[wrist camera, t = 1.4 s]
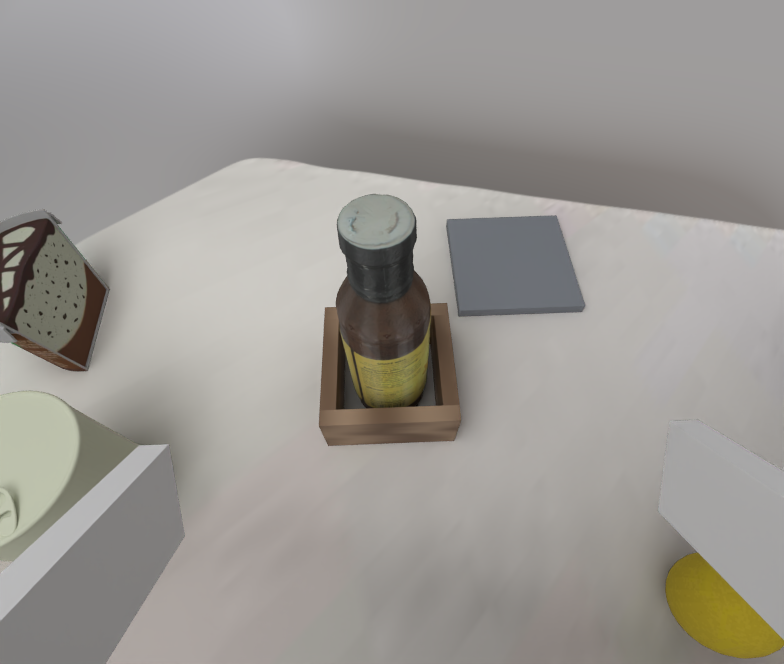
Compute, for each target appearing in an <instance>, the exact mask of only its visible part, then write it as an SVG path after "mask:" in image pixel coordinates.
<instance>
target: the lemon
mask: <svg viewBox="0 0 784 664" xmlns="http://www.w3.org/2000/svg"><path fill="white" fill-rule="evenodd" d="M665 591H666V597H667V602H668V604H669V607H670V609H671V612H672V614H673V615H674V617H675V619H676V620H677V622H678V623H679V624H680V626H681V627H682V628H683V629H684V630H685V631H686V632H687V633H688V634H689V635H690V636H691V637H692V638H694V639H695V640H696V641H698V642H699V643H700V644H702V645H704V646H705V647H707V648H710V649H712V650H714V651H716V652H718V653H720V654H723V655H728V656H732V657H737V658H756V657H764V656H767V655H769V654H771V653H773V652H776V651H778V650H780V649H781V648H782V647H783V646H784V640H783V639H782V638H781V637H780V636H779V635H778V633H777V632H776V631H775V630H774V629H773V628H772V627H771V626H770V625H769V624H768V623H767V622H766V621H765V620H764V619H763V618H762V617H761V616H760V615H759V614H758V613H757V612H756V611H755V610H754V609H753V608H752V607H751V606H750V605H749V604H748V603H747V602H746V601H745V600H744V599H743V598H742V597H741V596H740V595H739V594H738V593H737V592H736V591H735V590H734V589H733V588H732V587H731V586H730V585H729V584H728V582H727V581H726V580H725V579H724V578H723V577H722V576H721V575H720V574H719V573H718V572H717V571H716V570H715V569H714V568H713V567H712V566H711V565H710V564H709V563H708V562H707V561H706V560H705V559H704V558H703V557H702V556H701V555H700V554H699V553H698V552H697V553H693V554H689V555H687V556H685V557H683V558H682V559H680V560H679V561H677V562H676V563H675V564H674V565H673V567H672V568H671V569H670V571H669V573H668V576H667V579H666V590H665Z"/></svg>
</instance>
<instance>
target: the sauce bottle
mask: <svg viewBox="0 0 784 664" xmlns="http://www.w3.org/2000/svg"><path fill="white" fill-rule="evenodd" d="M337 230H338V238H339V245H340V249H341V250H342V253H343V254H345V256H346V262H347V267H348V268H347V277H346V278H345V280H344V281H343V283H342V285H341V287H340V289H339V291H338V294H337V298H336V309H337V315H338V319H339V327H340V333H341V337H342V341H343V345H344V349H345V353H346V357H347V361H348V364H349V368H350V372H351V376H352V380H353V384H354V388H355V390H356V392H357V394H358V396H359V398H360V400H361V402H362V403H363V405H364V406H365V407H366V409H368V408H394V407H415V406H416V405H417V403H418V402H419V400H420V399H421V397H422V394H423V390H424V387H425V384H426V379H427V367H428V355H429V336H430V326H431V304H430V299H429V294H428V291H427V288H426V286H425V284H424V282H423V280H422V279H421V277H420V276H419V275H418V274H417V273H416V272H415V271H414V266H413V248H414V245H415V242H416V239H417V234H416V231H417V230H416V217H415V215H414V213H413V211H412V209H411V208H410V207H409V206H408V204H407V203H406V202H404V201H403V200H401V199H399V198H397V197H394V196H391V195H378V194H370V195H366V196H362V197H359V198H357V199H355V200H353V201H351V202H350V203H349V204H347V205H346V206H345V207H344V208H343V209H342V211H341V212H340V214H339V217H338V220H337Z"/></svg>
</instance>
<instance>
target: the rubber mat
mask: <svg viewBox="0 0 784 664" xmlns="http://www.w3.org/2000/svg"><path fill="white" fill-rule="evenodd" d="M446 227H447V235H448V242H449V249H450V257H451V264H452V271H453V279H454V286H455V293H456V300H457V308H458V315H459V316H481V315H508V314H535V313H562V312H582V310H583V309H584V307H585V304H584V301H583V297H582V294H581V291H580V288H579V285H578V282H577V279H576V276H575V272H574V269H573V266H572V263H571V260H570V257H569V254H568V250H567V247H566V244H565V241H564V238H563V235H562V232H561V229H560V225H559V222H558V219H557V216H528V217H500V218H472V219H447V225H446Z"/></svg>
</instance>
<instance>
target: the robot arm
mask: <svg viewBox="0 0 784 664" xmlns="http://www.w3.org/2000/svg"><path fill="white" fill-rule="evenodd" d="M658 512H659V513H660V514H661V515H662V516H663V517H664V518H665V519H666V520H667V521H668V522H669V523H670V524H671V525H672V526H673V527H674V528H675V529H676V530H677V532H678V533H679V534H680V535H681V536H682V537H683V538H684V539H685V540H686V541H687V542H688V543H689V544H690V545H691V546H692V547H693V548H694V549H695V550H696V551H697V552H698V553H699V554H700V555H701V556H702V557H703V558H704V559H705V560H706V561H707V562H708V563H709V564H710V565H711V566H712V567H713V568H714V569H715V570H716V571H717V572H718V573H719V574H720V575H721V576H722V577H723V578H724V579H725V580H726V581H727V582H728V584H729V585H730V586H731V587H732V588H733V589H734V590H735V591H736V592H737V593H738V594H739V595H740V596H741V597H742V598H743V599H744V600H745V601H746V602H747V603H748V604H749V605H750V606H751V607H752V608H753V609H754V610H755V611H756V612H757V613H758V614H759V615H760V616H761V617H762V618H763V619H764V620H765V621H766V622H767V623H768V624H769V625H770V626H771V627H772V628H773V629H774V630H775V631H776V632H777V633H778V635H779V636H780V637H781V638H782V639H783V640H784V471H782V470H780V469H779V468H777V467H776V466H774V465H772V464H771V463H769V462H767V461H766V460H764V459H762V458H761V457H759V456H757V455H756V454H754V453H752V452H751V451H749V450H747V449H746V448H744V447H742V446H741V445H739V444H738V443H736V442H734V441H733V440H731V439H729V438H728V437H726V436H724V435H723V434H721V433H719V432H718V431H716V430H714V429H713V428H711V427H709V426H708V425H706V424H705V423H703V422H701V421H700V420H677V421H669V429H668V437H667V444H666V452H665V460H664V467H663V475H662V483H661V490H660V498H659V506H658ZM184 536H185V533H184V528H183V522H182V516H181V510H180V505H179V499H178V493H177V487H176V482H175V476H174V470H173V464H172V459H171V453H170V447H169V444H162V445H140V446H138V447H137V448H136V449H135V450H134V451H133V452H131V453H130V454H129V455H128V456H127V457H126V458H125V459H124V460H123V461H122V462H121V463H119V464H118V465H117V466H116V467H115V468H114V469H113V470H112V471H111V472H110V473H109V474H108V475H106V476H105V477H104V478H103V479H102V480H101V481H100V482H99V483H98V484H97V485H96V486H95V487H93V488H92V489H91V490H90V491H89V492H88V493H87V494H86V495H85V496H84V497H83V498H82V499H80V500H79V501H78V502H77V503H76V504H75V505H74V506H73V507H72V508H71V509H70V510H69V511H67V512H66V513H65V514H64V515H63V516H62V517H61V518H60V519H59V520H58V521H57V522H56V523H54V524H53V525H52V526H51V527H50V528H49V529H48V530H47V531H46V532H45V533H44V534H43V535H41V536H40V537H39V538H38V539H37V540H36V541H35V542H34V543H33V544H32V545H31V546H30V547H28V548H27V549H26V550H25V551H24V552H23V553H22V554H21V555H20V556H19V557H18V558H17V559H15V560H14V561H13V562H12V563H11V564H10V565H9V566H8V567H7V568H6V569H5V570H4V571H2V572H1V573H0V664H106V662H107V661H108V659H109V657H110V656H111V654H112V652H113V651H114V649H115V648H116V646H117V644H118V643H119V641H120V640H121V638H122V636H123V635H124V633H125V632H126V630H127V628H128V627H129V625H130V623H131V622H132V620H133V619H134V617H135V615H136V614H137V612H138V611H139V609H140V607H141V606H142V604H143V603H144V601H145V599H146V598H147V596H148V594H149V593H150V591H151V590H152V588H153V586H154V585H155V583H156V582H157V580H158V578H159V577H160V575H161V574H162V572H163V570H164V569H165V567H166V565H167V564H168V562H169V561H170V559H171V557H172V556H173V554H174V553H175V551H176V549H177V548H178V546H179V545H180V543H181V541H182V540H183V538H184Z"/></svg>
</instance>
